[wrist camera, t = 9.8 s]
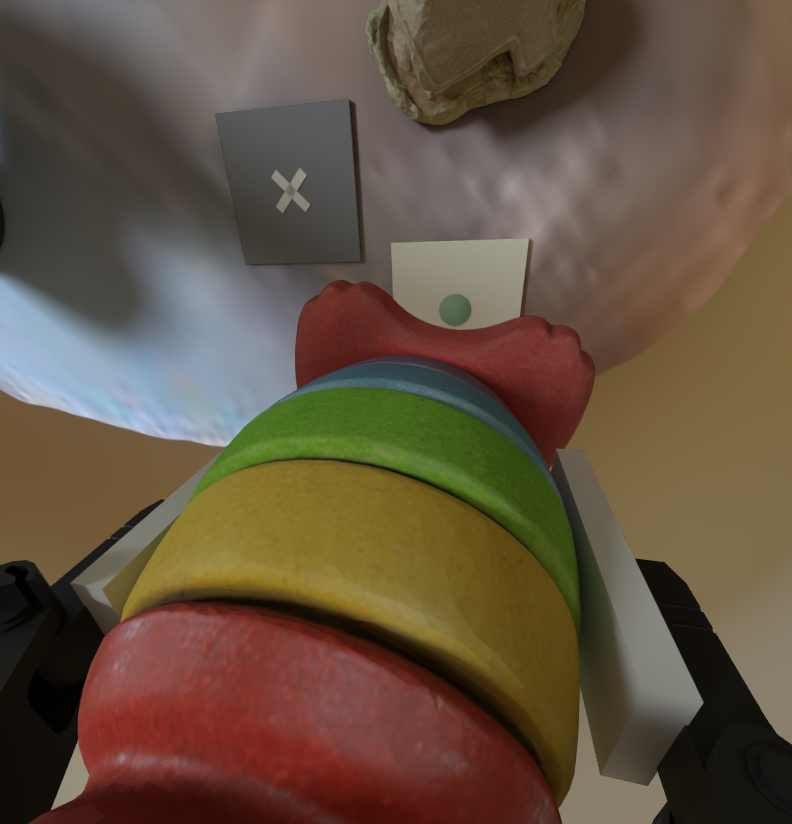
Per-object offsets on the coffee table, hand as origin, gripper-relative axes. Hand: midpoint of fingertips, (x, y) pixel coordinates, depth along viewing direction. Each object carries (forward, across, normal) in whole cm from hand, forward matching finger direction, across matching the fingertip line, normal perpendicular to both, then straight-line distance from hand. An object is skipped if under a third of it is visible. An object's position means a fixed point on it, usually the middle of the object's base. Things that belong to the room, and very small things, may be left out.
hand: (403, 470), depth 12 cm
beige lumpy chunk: (+26, +1, +20) cm, 33 cm away
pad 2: (+26, 0, 0) cm, 26 cm away
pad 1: (+26, -15, +11) cm, 32 cm away
